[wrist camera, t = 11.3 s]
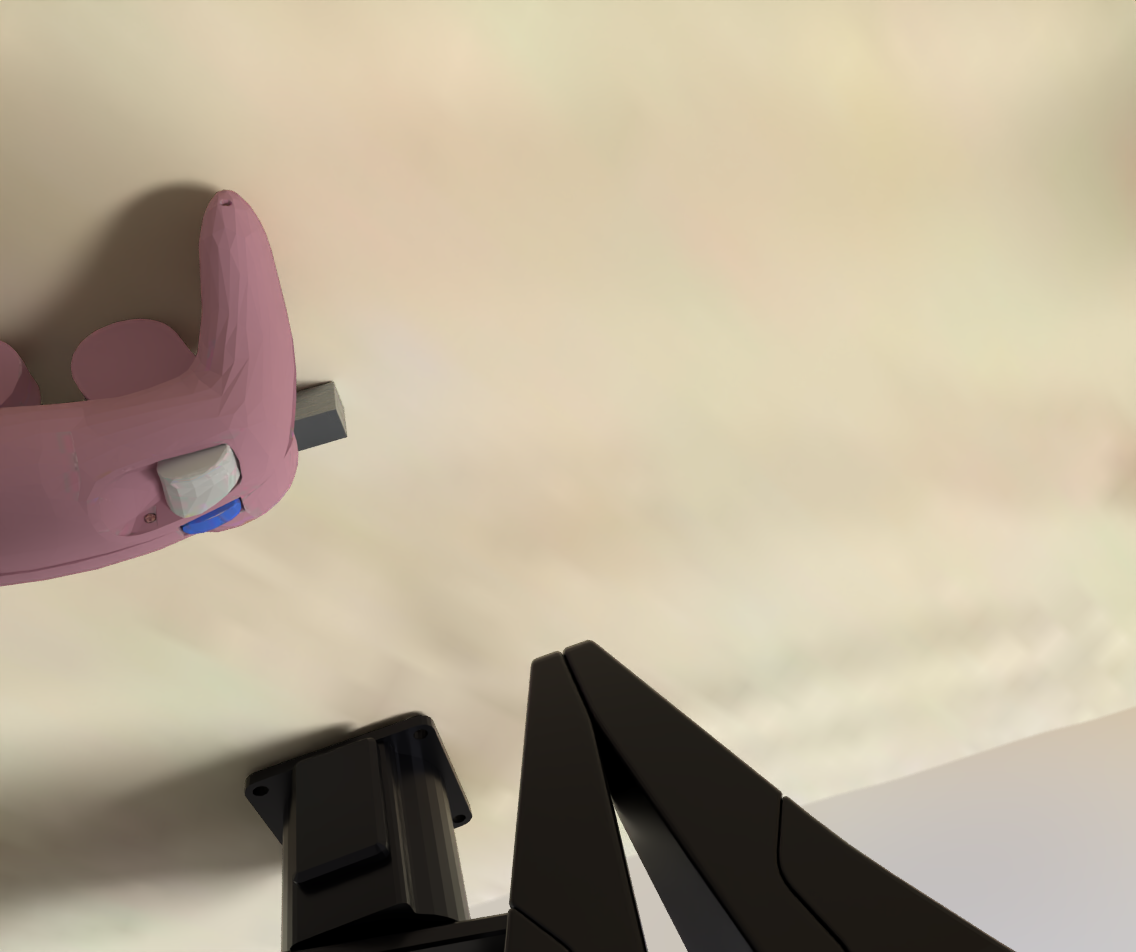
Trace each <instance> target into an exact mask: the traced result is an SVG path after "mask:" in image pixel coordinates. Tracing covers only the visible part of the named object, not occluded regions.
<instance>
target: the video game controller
mask: <svg viewBox="0 0 1136 952" xmlns="http://www.w3.org/2000/svg"><path fill="white" fill-rule="evenodd" d="M199 263H200V282H201V301H202V316H201V325H200V334H199V343H198V352H197V354H196V356H195V355H194V354H193V353H192V352H191V351H190V350H189V348H188V347H187V346H186V344H185V343H184V342H183V341H182V339H181V338H180V337H179V335H178V334H177V333H176V332H175V331H174V330H173V329H172V328H170V327H169V326H168V325H166V324H164V323H162V322H159V321H155V320H150V319H130V320H124V321H118V322H115V323H113V324H110V325H107V326H105V327H102V328H100V329H98V330H96V331H94V332H93V333H91V334H90V335H89V336H87V337H86V338H85V339H84V340H83V341H82V342H80V344H79V345H78V347H77V349H76V350H75V352H74V354H73V357H72V362H71V372H72V377H73V380H74V381H75V383H76V385H77V386H78V388H79V390H80V391H81V393H82V394H83V395H84V397H85V398H86V399H87V401H79V402H70V403H59V404H49V405H40V404H41V395H40V390H39V386H38V385H37V383H36V381H35V380H34V378H33V377H32V376H31V374H30V373H29V371H28V369H27V367H26V365H25V363H24V361H23V360H22V359H21V357H20V356H19V355H18V353H17V352H16V351H15V350H14V349H13V348H12V347H11V346H10V345H8V344H7V343H5V342H2V341H0V586H6V585H13V584H20V583H27V582H35V581H42V580H48V579H52V578H57V577H62V576H67V575H72V574H76V573H81V572H86V571H91V570H96V569H99V568H103V567H106V566H109V565H112V564H116V563H119V562H122V561H126V560H129V559H132V558H135V557H139V556H142V555H145V554H148V553H151V552H154V551H157V550H160V549H162V548H165V547H167V546H169V545H172V544H174V543H176V542H178V541H181V540H183V539H185V538H188V537H190V536H192V535H195V534H197V533H204V532H220V531H224V530H228V529H232V528H235V527H239V526H242V525H244V524H246V523H248V522H250V521H252V520H254V519H256V518H258V517H259V516H261V515H263V514H265V513H266V512H267V511H269V510H270V509H271V508H272V507H273V506H274V505H275V504H277V503H278V502H279V501H280V500H281V498H282V497H283V496H284V495H285V493H286V492H287V491H288V489H289V488H290V486H291V484H292V481H293V479H294V477H295V473H296V469H297V465H298V447H297V441H296V438H295V435H294V422H295V410H296V365H295V356H294V346H293V338H292V333H291V329H290V324H289V320H288V315H287V310H286V306H285V302H284V298H283V294H282V290H281V286H280V282H279V278H278V274H277V270H276V266H275V263H274V259H273V255H272V251H271V248H270V245H269V242H268V238H267V236H266V233H265V231H264V229H263V226H262V224H261V222H260V220H259V219H258V217H257V216H256V214H255V212H254V211H253V209H252V208H251V206H250V205H249V204H248V203H247V202H246V201H245V200H244V199H243V198H242V197H241V196H239V195H238V194H237V193H235V192H234V191H231V190H222V191H219V192H217V193H216V194H215V195H214V197H213V198H212V199H211V200H210V202H209V204H208V206H207V208H206V210H205V212H204V216H203V221H202V227H201V232H200V237H199Z"/></svg>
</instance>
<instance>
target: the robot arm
mask: <svg viewBox="0 0 1136 952" xmlns="http://www.w3.org/2000/svg"><path fill="white" fill-rule="evenodd" d="M421 729H422V730H421ZM244 793H245V796H246V798H247V799H248V800H249V802H250V803H251V804H252V806H253V807H254V808H255V810H256V811H257V812H258V814H259V815H260V816H261V818H262V819H263V820H264V822H265V823H266V824H267V826H268V827H269V828H270V830H271V831H272V832H273V834H274V835H275V836H276V838H277V839H278V840H279V842H280V843H281V844H282V846H283V853H282V925H281V952H648V949H647V945H646V941H645V937H644V932H643V928H642V924H641V920H640V915H639V911H638V907H637V903H636V898H635V894H634V890H633V886H632V882H631V878H630V874H629V869H628V865H627V860H626V856H625V852H624V848H623V844H622V839H621V835H620V831H619V827H618V823H617V818H616V814H615V810H614V807H615V809H616V811H617V813H618V815H619V818H620V820H621V822H622V824H623V826H624V828H625V830H626V832H627V834H628V836H629V838H630V840H631V842H632V843H633V845H634V847H635V849H636V851H637V853H638V855H639V857H640V859H641V861H642V863H643V865H644V867H645V869H646V870H647V872H648V875H649V877H650V879H651V880H652V882H653V884H654V886H655V888H656V890H657V892H658V894H659V896H660V898H661V900H662V902H663V904H664V906H665V908H666V910H667V912H668V914H669V916H670V918H671V919H672V922H673V924H674V925H675V927H676V929H677V931H678V933H679V935H680V937H681V939H682V941H683V943H684V944H685V947H686V949H687V951H688V952H1015V951H1014V950H1012V949H1010V948H1009V947H1007V946H1006V945H1004V944H1002V943H1000V942H999V941H997V940H996V939H994V938H993V937H991V936H990V935H988V934H986V933H985V932H983V931H982V930H980V929H979V928H977V927H976V926H974V925H972V924H971V923H969V922H968V921H966V920H965V919H963V918H961V917H960V916H958V915H957V914H955V913H954V912H952V911H950V910H949V909H947V908H946V907H944V906H943V905H941V904H940V903H938V902H936V901H935V900H933V899H932V898H930V897H929V896H927V895H925V894H924V893H922V892H921V891H919V890H918V889H916V888H915V887H913V886H911V885H910V884H908V883H907V882H905V881H903V880H902V879H900V878H899V877H897V876H895V875H894V874H893V873H891V872H890V871H888V870H887V869H885V868H884V867H882V866H881V865H879V864H878V863H876V862H875V861H873V860H872V859H870V858H869V857H867V856H866V855H864V854H863V853H861V852H860V851H858V850H857V849H855V848H854V847H853V846H851V845H849V844H848V843H847V842H846V841H844V840H843V839H842V838H840V837H839V836H838V835H836V834H835V833H834V832H832V831H831V830H830V829H828V828H827V827H826V826H824V825H823V824H822V823H820V822H819V821H817V820H816V819H815V818H814V817H812V816H811V815H810V814H809V813H807V812H806V811H805V810H804V809H802V808H801V807H800V806H799V805H797V804H796V803H795V802H794V801H793V800H791V799H790V798H789V797H787V796H785V797H783V798H782V792H781V791H780V790H778V789H777V788H776V787H775V786H773V785H772V784H771V783H770V782H768V781H767V780H766V779H765V778H763V777H762V776H761V775H760V774H758V773H757V772H756V771H755V770H753V769H752V768H751V767H750V766H748V765H747V764H746V763H745V762H743V761H742V760H741V759H740V758H738V757H737V756H736V755H735V754H733V753H732V752H731V751H730V750H729V749H727V748H726V747H725V746H724V745H722V744H721V743H720V742H719V741H717V740H716V739H715V738H714V737H712V736H711V735H710V734H709V733H707V732H706V731H705V730H704V729H702V728H701V727H700V726H699V725H697V724H696V723H695V722H694V721H692V720H691V719H690V718H689V717H687V716H686V715H685V714H684V713H682V712H681V711H680V710H679V709H677V708H676V707H675V706H674V705H672V704H671V703H670V702H669V701H667V700H666V699H665V698H664V697H662V696H661V695H660V694H659V693H657V692H656V691H655V690H654V689H652V688H651V687H650V686H649V685H647V684H646V683H645V682H644V681H643V680H641V679H640V678H639V677H638V676H636V675H635V674H634V673H633V672H631V671H630V670H629V669H628V668H626V667H625V666H624V665H623V664H621V663H620V662H619V661H618V660H616V659H615V658H614V657H613V656H611V655H610V654H609V653H608V652H606V651H605V650H604V649H603V648H601V647H600V646H599V645H598V644H596V643H595V642H593V641H591V640H586V641H583V642H580V643H578V644H575V645H572V646H569V647H567V648H565V649H564V651H563V654H562V653H561V652H559V651H555V652H553V653H550V654H547V655H544V656H541V657H539V658H536V659H534V660H533V661H532V664H531V670H530V681H529V692H528V703H527V714H526V725H525V736H524V747H523V758H522V768H521V779H520V790H519V801H518V812H517V823H516V834H515V845H514V856H513V867H512V878H511V888H510V900H509V905H510V907H511V909H510V910H509V911H508V913H504V914H499V915H493V916H487V917H481V918H476V919H471V918H470V913H469V908H468V902H467V897H466V891H465V886H464V881H463V875H462V870H461V864H460V859H459V854H458V848H457V843H456V837H455V832H454V829H455V828H457V827H460V826H463V825H465V824H467V823H468V822H469V821H470V820H471V818H472V813H471V808H470V804H469V802H468V800H467V797H466V795H465V793H464V791H463V788H462V786H461V784H460V781H459V779H458V777H457V775H456V772H455V770H454V768H453V765H452V763H451V761H450V758H449V756H448V754H447V752H446V749H445V747H444V745H443V742H442V740H441V738H440V736H439V733H438V731H437V729H436V726H435V724H434V722H433V720H432V719H431V718H430V717H428V716H423V715H420V716H416V717H412V718H410V719H407V720H404V721H401V722H398V723H395V724H392V725H390V726H387V727H384V728H381V729H378V730H375V731H373V732H370V733H367V734H364V735H361V736H358V737H355V738H353V739H350V740H347V741H344V742H341V743H338V744H335V745H333V746H330V747H327V748H324V749H321V750H318V751H315V752H313V753H310V754H307V755H304V756H301V757H298V758H295V759H293V760H290V761H287V762H284V763H281V764H278V765H275V766H273V767H270V768H267V769H264V770H261V771H258V772H255V773H253V774H251V775H250V776H249V777H248V778H247V779H246V781H245V792H244ZM613 804H614V806H613Z"/></svg>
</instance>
